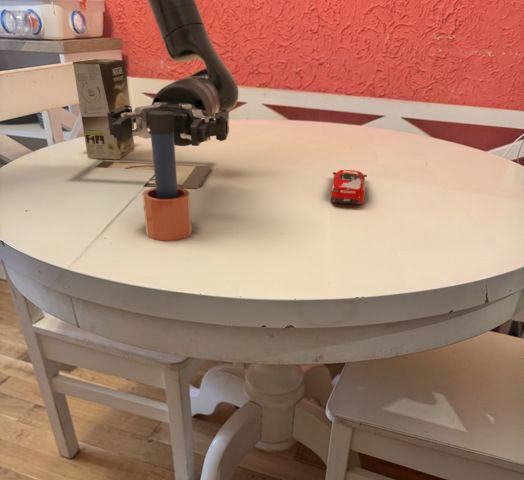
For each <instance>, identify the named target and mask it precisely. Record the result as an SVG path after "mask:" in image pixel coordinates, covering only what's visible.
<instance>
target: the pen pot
mask: <svg viewBox="0 0 524 480" xmlns="http://www.w3.org/2000/svg"><path fill="white" fill-rule="evenodd" d="M177 190H178V198H173V199H157V196H156V187H150V188H149V189H146V190H144V191H143V193H142V194H141V196H142V204H143V213H144V223H145V231H146V233H145V234H146V235H147V237H148V238H150V239H152V240H155V241H161V242H175V241H181V240H184V239H186V238H189V237H190V236H191V235H192V230H193V229H192V211H191V193H190V191H189V190H188V189H182V188H178V187H177Z"/></svg>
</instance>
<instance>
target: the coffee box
mask: <svg viewBox="0 0 524 480" xmlns="http://www.w3.org/2000/svg"><path fill="white" fill-rule="evenodd" d="M72 66H73V73H74V78H75V84H76V86H75V87H76V91H77V98H78V103H79V111H80V116H81V123H82V130H83V136H84V142H85V148H86V156H87V158H89V159H90V158H91V159H104V160H115V161H116V160H120V159H121V158H122V157H123V158H124V157H125V156H126V155H128V154H129V153H131V152H133V151H134V150H135V141H134V140H135V139H134V136H133V137H131V138H130V139H128V140H127V141H126V142H117V138H114V136H113V135H110V131H109V123H108V116H107V112H109V111H112V110H114V109H117V108H119V107H121V106H124V105H128V106H131V102H130V94H129V85H128V84H129V83H128V75H127V67H126V66H127V65H126V60H125V59H109V58H108V59H107V58H106V59H105V58H103V59H101V58H100V59H98V58H93V59H85V60H77V61H73V62H72Z"/></svg>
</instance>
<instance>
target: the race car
mask: <svg viewBox="0 0 524 480" xmlns="http://www.w3.org/2000/svg"><path fill="white" fill-rule="evenodd" d="M332 175H333V180H332V186H331V190H330V202H331V203H337V204H348V205H349V204H351V205H363V204H364V201H365V200H364V199H365V193H366V189H365V188H366V187H365V186H366V185H365V183H366V181H365V180H366V178H367V177H368V174H364V173H363V172H362V171H359V170H354V169H353V170H352V169H340V170H338V171H333V172H332Z"/></svg>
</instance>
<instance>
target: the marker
mask: <svg viewBox="0 0 524 480" xmlns="http://www.w3.org/2000/svg"><path fill="white" fill-rule="evenodd" d="M148 114H149V125H150V129H149V131H150V132H151V138H150V140H151V151H152V163H154V170H153V172H154V173H153V175H154V174H155V185H156V187H155V188H156V196H157V199H173V198H178V190H177V175H176V164H177V161H176V148H175V147H176V145H174V124H173V113H172V112H170V111H151V112H149V113H148Z"/></svg>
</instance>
